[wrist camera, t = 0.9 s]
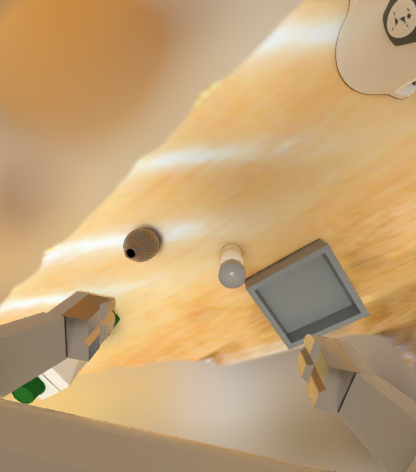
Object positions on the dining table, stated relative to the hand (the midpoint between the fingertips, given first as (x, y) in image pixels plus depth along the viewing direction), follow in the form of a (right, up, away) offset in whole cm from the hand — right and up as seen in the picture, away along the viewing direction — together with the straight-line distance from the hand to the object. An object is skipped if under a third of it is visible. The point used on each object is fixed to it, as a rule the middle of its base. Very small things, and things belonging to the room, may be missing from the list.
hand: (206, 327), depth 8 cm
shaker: (+5, 0, +36) cm, 36 cm away
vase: (-13, +3, +37) cm, 40 cm away
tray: (+21, -9, +37) cm, 43 cm away
